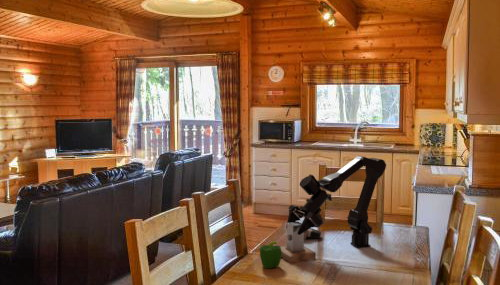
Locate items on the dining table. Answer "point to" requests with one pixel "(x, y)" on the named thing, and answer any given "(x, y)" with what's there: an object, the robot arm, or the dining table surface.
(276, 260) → the bell pepper
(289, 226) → the plate
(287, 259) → the stand
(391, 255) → the dining table surface
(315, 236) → the grey brown rock
